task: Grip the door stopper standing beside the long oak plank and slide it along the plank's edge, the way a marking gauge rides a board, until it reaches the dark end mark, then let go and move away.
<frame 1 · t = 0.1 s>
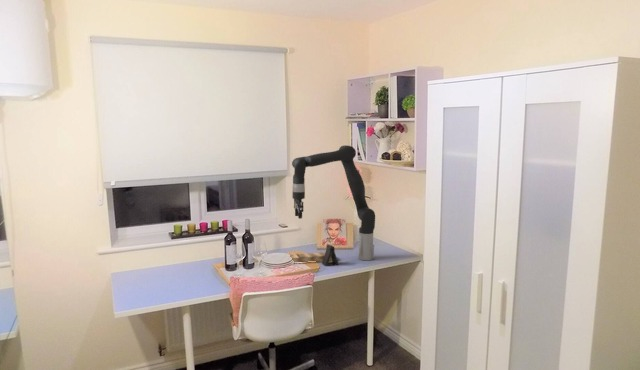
hand: (298, 217, 273), 29 cm above the table, tool pointing down, fingers open, 8 cm apart
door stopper: (330, 264, 276), on the table
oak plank: (312, 260, 282), on the table
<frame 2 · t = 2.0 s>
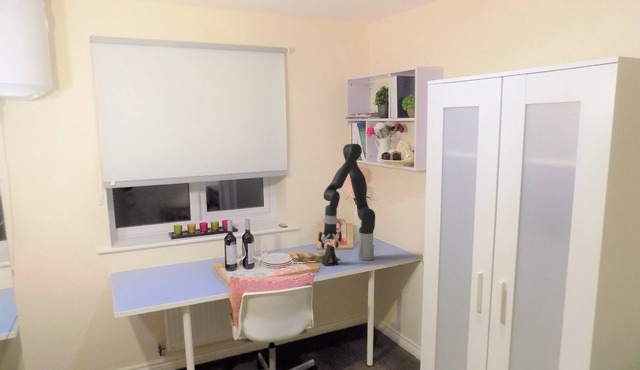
hand: (329, 248, 275), 10 cm above the table, tool pointing down, fingers open, 8 cm apart
nothing on the table moved.
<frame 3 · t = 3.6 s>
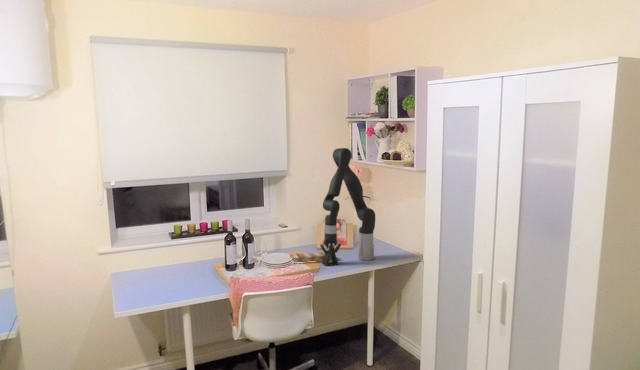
hand: (330, 259, 275), 3 cm above the table, tool pointing down, fingers closed on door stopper
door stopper: (330, 264, 276), on the table, touching gripper
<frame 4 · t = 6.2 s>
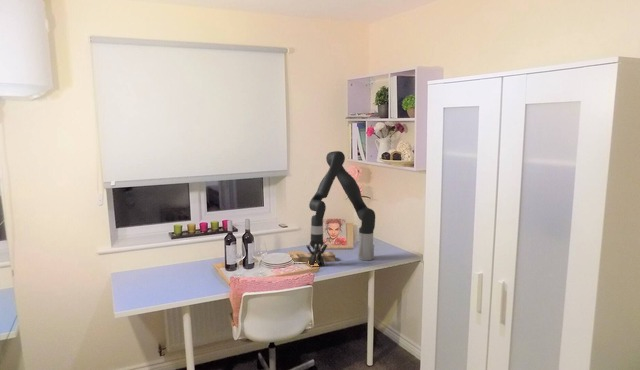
hand: (316, 260, 273), 3 cm above the table, tool pointing down, fingers closed on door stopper
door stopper: (316, 265, 273), on the table, touching gripper
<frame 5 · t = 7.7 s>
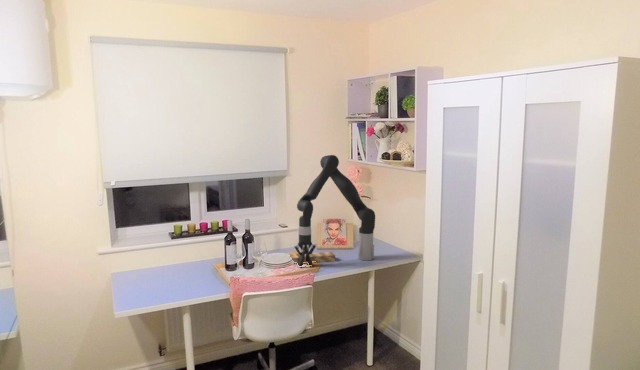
hand: (305, 261, 271), 3 cm above the table, tool pointing down, fingers closed on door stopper
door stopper: (305, 266, 271), on the table, touching gripper
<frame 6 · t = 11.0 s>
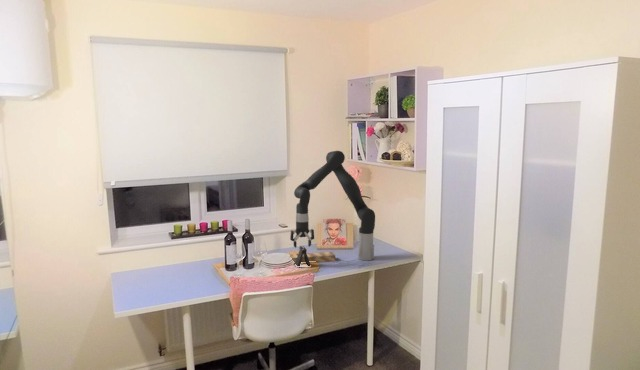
hand: (302, 246, 269), 12 cm above the table, tool pointing down, fingers open, 8 cm apart
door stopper: (302, 266, 271), on the table
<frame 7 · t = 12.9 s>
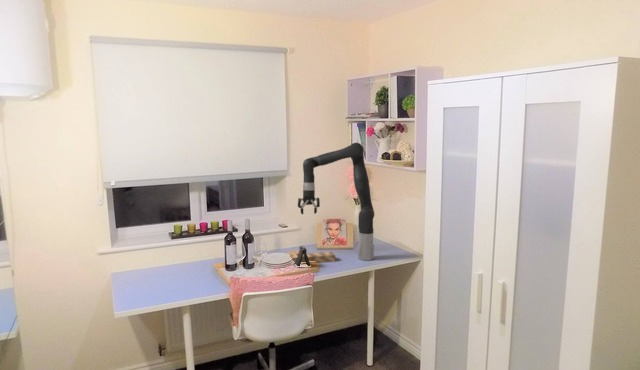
hand: (308, 213, 291), 28 cm above the table, tool pointing down, fingers open, 8 cm apart
nothing on the table moved.
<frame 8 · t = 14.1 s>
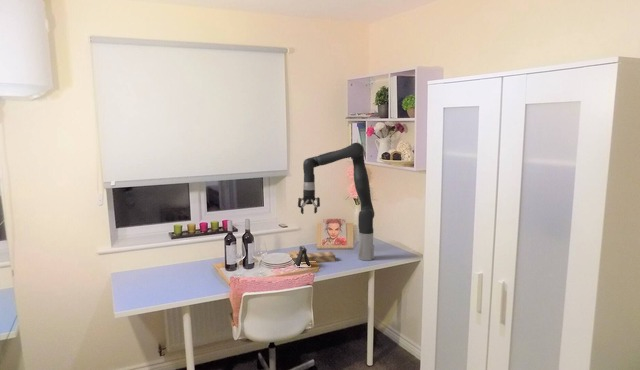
hand: (308, 213, 292), 28 cm above the table, tool pointing down, fingers open, 8 cm apart
nothing on the table moved.
at the end: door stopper 0.9 cm from the target spot, on the table; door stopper tilted 0°; the gripper is holding nothing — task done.
